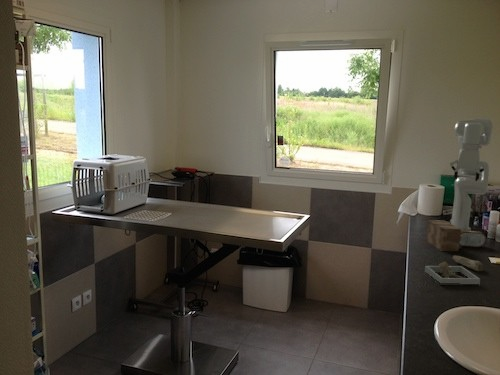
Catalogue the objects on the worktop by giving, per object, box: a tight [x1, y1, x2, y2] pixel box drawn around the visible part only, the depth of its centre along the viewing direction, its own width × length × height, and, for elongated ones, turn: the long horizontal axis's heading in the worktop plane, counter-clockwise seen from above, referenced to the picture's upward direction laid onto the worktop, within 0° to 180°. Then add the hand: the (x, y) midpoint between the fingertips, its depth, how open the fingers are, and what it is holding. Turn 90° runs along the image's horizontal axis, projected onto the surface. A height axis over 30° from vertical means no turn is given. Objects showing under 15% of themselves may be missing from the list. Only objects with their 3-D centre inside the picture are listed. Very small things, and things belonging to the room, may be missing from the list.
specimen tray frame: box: [424, 265, 481, 285], centre depth 195 cm, size 15×17×3 cm
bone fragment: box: [452, 255, 485, 272], centre depth 210 cm, size 14×6×5 cm, turn 27°
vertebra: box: [438, 260, 464, 278], centre depth 195 cm, size 12×8×10 cm
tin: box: [459, 229, 487, 248], centre depth 241 cm, size 15×3×8 cm, turn 84°
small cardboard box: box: [425, 219, 463, 252], centre depth 240 cm, size 17×13×12 cm
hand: (466, 180), depth 240 cm, fingers open, 9 cm apart
